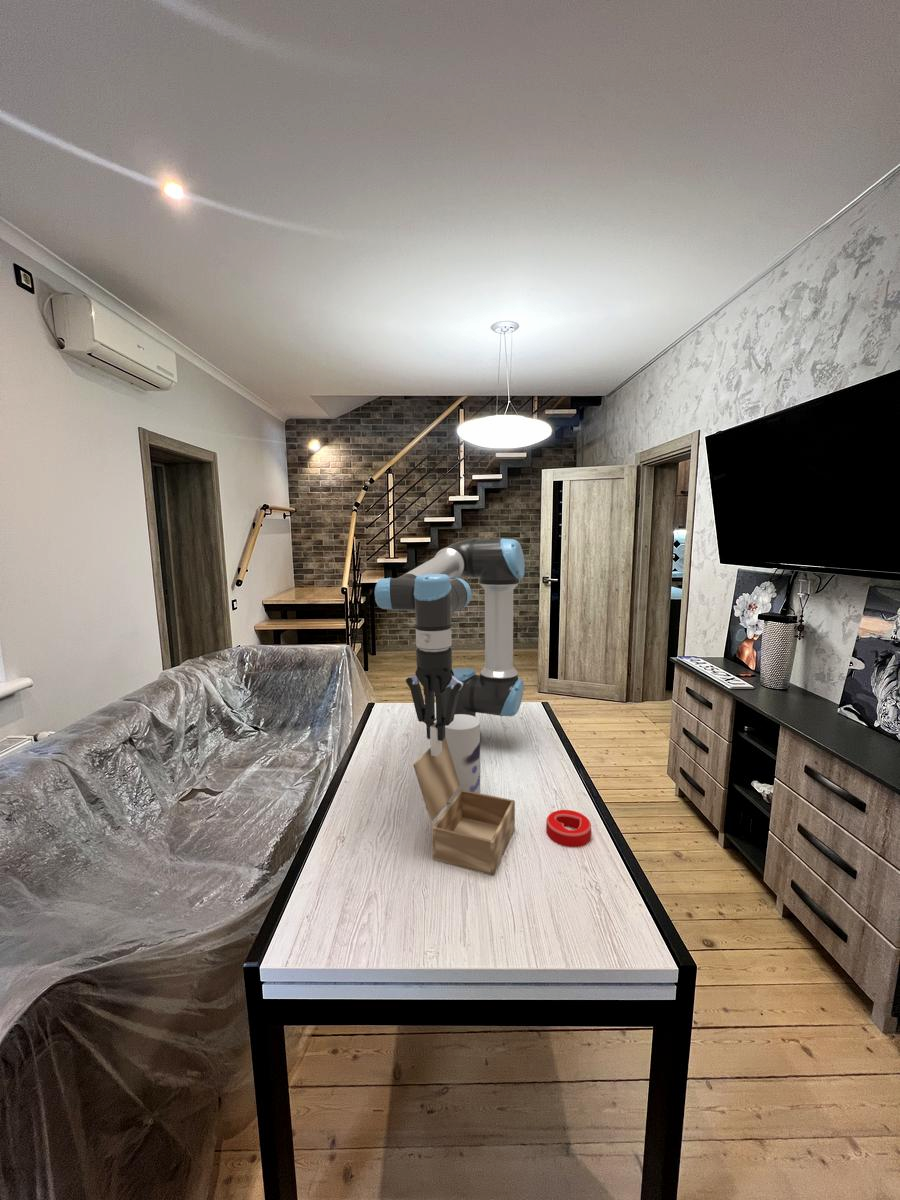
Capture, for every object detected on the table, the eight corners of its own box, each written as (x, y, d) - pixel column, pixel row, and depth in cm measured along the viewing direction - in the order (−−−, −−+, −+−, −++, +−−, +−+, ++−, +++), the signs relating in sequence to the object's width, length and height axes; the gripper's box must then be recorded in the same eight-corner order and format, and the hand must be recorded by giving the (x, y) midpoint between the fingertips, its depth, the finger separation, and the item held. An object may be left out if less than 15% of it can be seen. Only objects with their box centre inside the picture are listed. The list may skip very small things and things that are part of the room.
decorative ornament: (598, 833, 108) (599, 820, 107) (576, 854, 101) (576, 840, 100) (561, 816, 114) (561, 804, 114) (537, 834, 107) (538, 821, 107)
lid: (460, 784, 113) (457, 785, 113) (444, 735, 112) (442, 735, 113) (432, 821, 99) (430, 821, 99) (415, 764, 98) (412, 764, 99)
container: (477, 808, 118) (476, 730, 115) (437, 804, 120) (435, 727, 117) (482, 787, 127) (482, 714, 125) (445, 784, 129) (444, 712, 127)
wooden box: (461, 817, 114) (460, 789, 113) (514, 829, 109) (514, 800, 108) (432, 859, 99) (432, 828, 98) (493, 875, 94) (493, 842, 93)
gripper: (398, 649, 101) (401, 755, 104) (455, 654, 96) (457, 766, 99) (414, 641, 108) (417, 741, 111) (469, 645, 103) (470, 750, 106)
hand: (436, 753), depth 105 cm, fingers closed
